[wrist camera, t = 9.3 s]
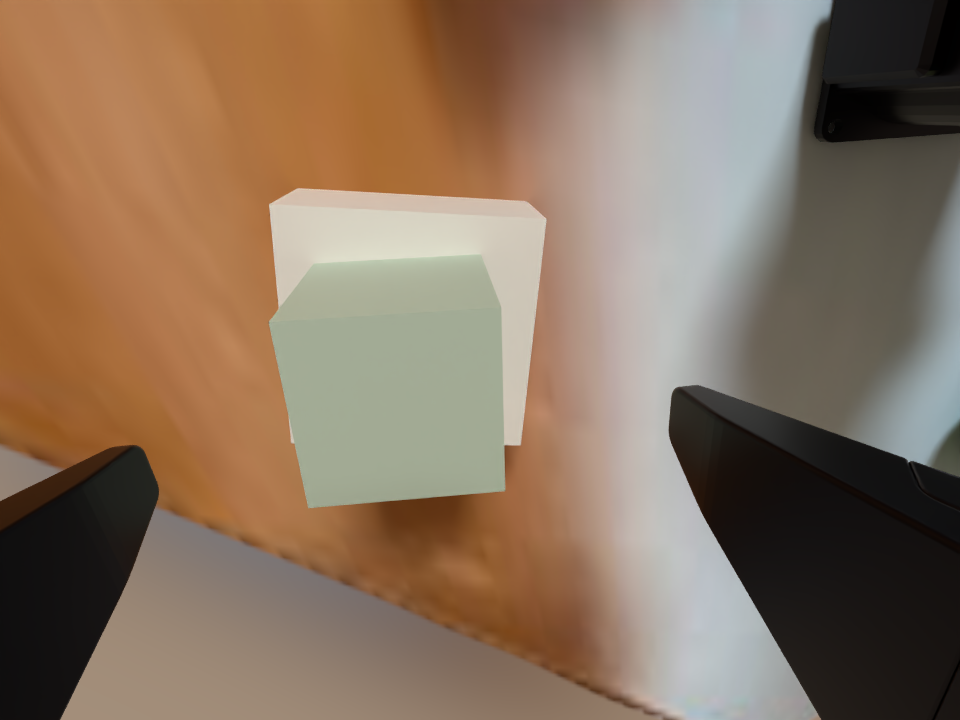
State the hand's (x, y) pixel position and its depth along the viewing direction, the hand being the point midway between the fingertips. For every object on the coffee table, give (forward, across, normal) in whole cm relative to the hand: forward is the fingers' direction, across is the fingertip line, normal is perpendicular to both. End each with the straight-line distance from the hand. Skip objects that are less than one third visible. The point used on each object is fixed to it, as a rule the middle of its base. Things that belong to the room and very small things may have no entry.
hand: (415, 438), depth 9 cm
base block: (+12, +1, +2) cm, 12 cm away
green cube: (+8, +1, +1) cm, 8 cm away
